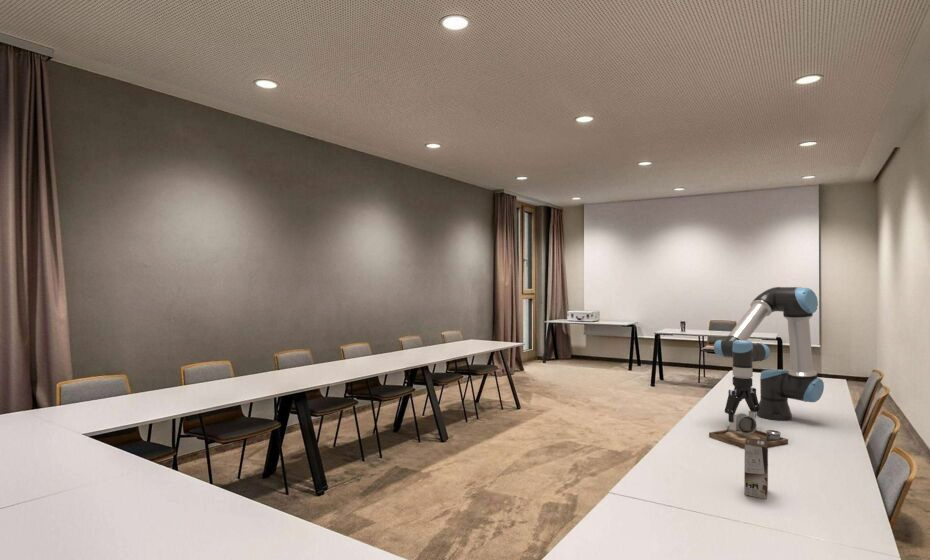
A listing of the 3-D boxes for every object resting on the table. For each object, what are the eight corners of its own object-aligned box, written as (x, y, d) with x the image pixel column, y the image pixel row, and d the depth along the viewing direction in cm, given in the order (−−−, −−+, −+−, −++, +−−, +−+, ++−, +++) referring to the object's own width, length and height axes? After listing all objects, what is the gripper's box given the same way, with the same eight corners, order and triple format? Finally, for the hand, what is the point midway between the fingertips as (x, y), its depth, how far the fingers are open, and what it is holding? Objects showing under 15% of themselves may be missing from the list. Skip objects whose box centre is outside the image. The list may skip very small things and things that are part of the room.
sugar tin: (771, 440, 222) (771, 429, 222) (783, 443, 217) (783, 432, 217) (763, 441, 219) (763, 430, 219) (774, 445, 215) (774, 434, 215)
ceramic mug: (748, 429, 228) (748, 411, 228) (757, 434, 219) (756, 416, 219) (723, 428, 229) (722, 411, 229) (730, 434, 221) (730, 416, 221)
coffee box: (767, 499, 162) (767, 447, 162) (743, 495, 166) (743, 444, 166) (768, 489, 170) (768, 439, 170) (746, 485, 173) (745, 436, 173)
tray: (745, 431, 235) (745, 426, 235) (788, 444, 216) (787, 439, 216) (709, 437, 226) (709, 432, 226) (750, 451, 208) (750, 446, 208)
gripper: (753, 373, 232) (753, 423, 232) (715, 377, 222) (715, 429, 222) (769, 376, 225) (769, 427, 225) (730, 380, 216) (730, 433, 216)
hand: (742, 428), depth 224 cm, fingers closed on ceramic mug, 11 cm apart
